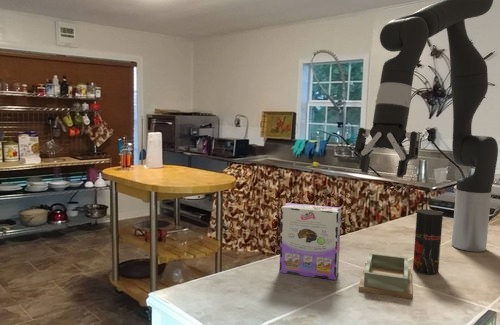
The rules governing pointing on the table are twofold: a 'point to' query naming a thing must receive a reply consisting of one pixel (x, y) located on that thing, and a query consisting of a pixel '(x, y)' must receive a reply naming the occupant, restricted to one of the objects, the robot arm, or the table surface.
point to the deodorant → (427, 241)
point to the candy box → (310, 240)
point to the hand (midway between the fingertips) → (381, 174)
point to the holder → (387, 276)
